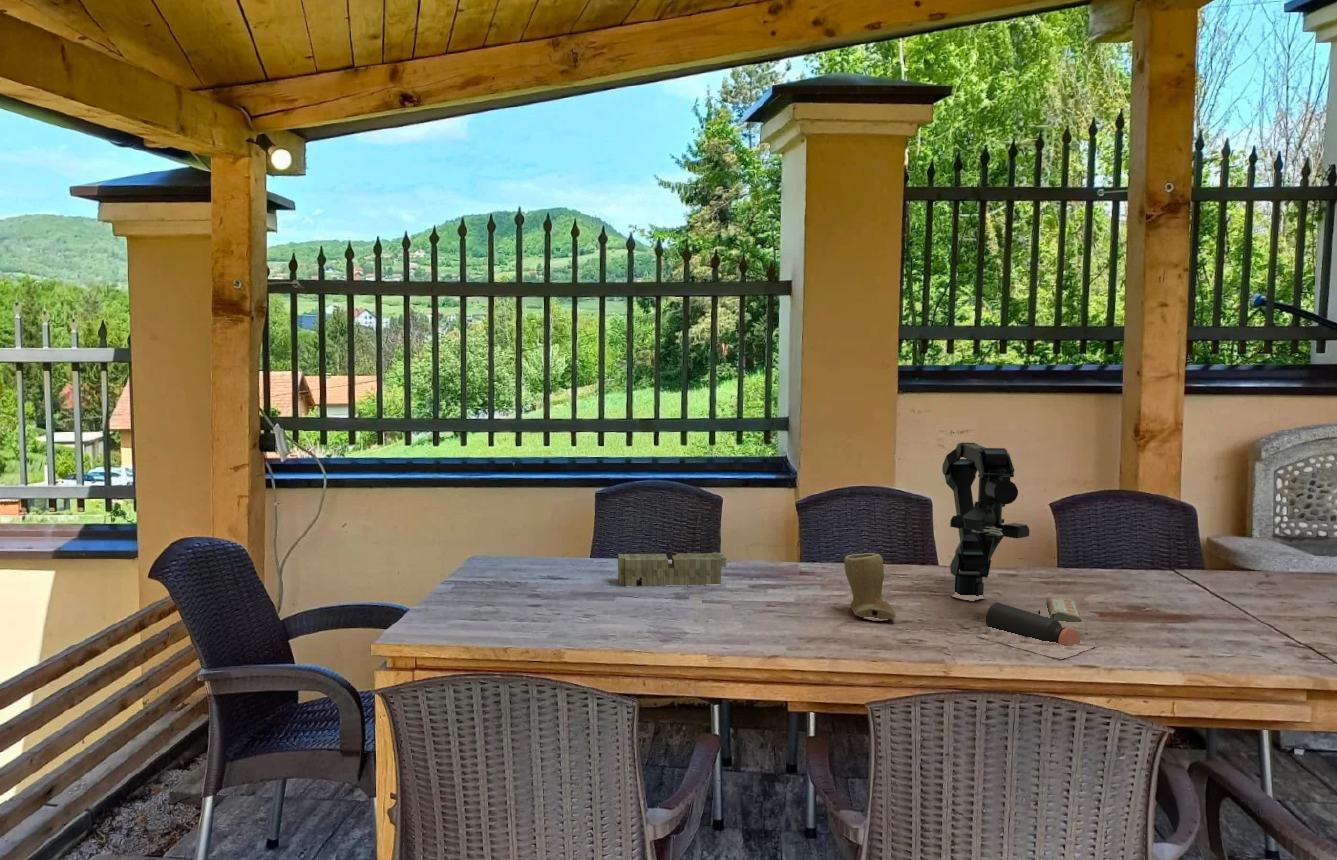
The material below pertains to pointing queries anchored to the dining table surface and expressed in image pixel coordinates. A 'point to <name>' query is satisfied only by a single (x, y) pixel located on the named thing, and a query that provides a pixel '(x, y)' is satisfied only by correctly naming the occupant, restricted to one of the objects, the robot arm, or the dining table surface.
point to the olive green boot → (867, 585)
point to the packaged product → (1063, 609)
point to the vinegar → (1029, 625)
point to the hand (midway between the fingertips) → (987, 560)
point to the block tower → (670, 569)
